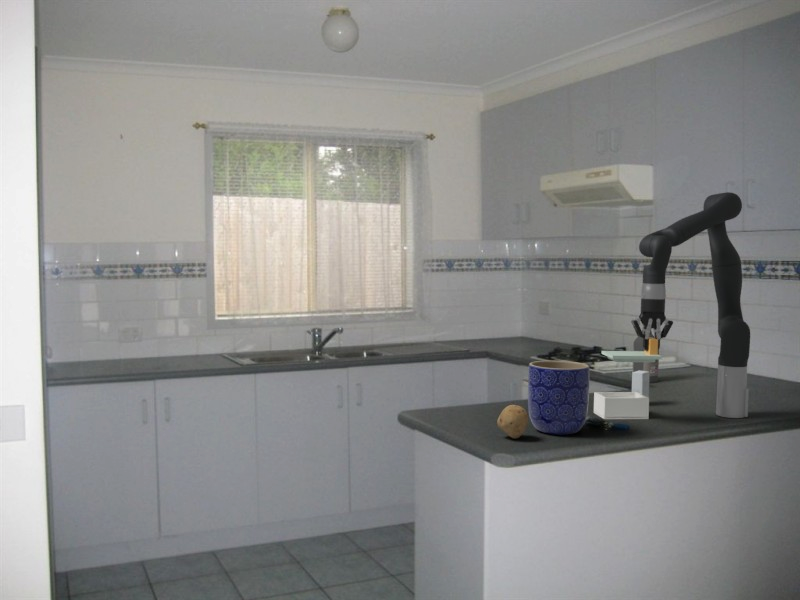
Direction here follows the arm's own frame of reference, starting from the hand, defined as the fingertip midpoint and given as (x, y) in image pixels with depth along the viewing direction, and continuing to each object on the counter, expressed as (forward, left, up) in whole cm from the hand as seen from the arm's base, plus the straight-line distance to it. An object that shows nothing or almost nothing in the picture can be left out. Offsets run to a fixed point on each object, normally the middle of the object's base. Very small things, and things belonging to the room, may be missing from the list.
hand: (651, 350), depth 275 cm
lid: (+6, 0, -3) cm, 7 cm away
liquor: (-30, -79, -23) cm, 87 cm away
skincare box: (-8, -28, -23) cm, 37 cm away
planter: (+34, +13, -23) cm, 44 cm away
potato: (+50, +22, -23) cm, 60 cm away
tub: (+6, -9, -23) cm, 26 cm away
